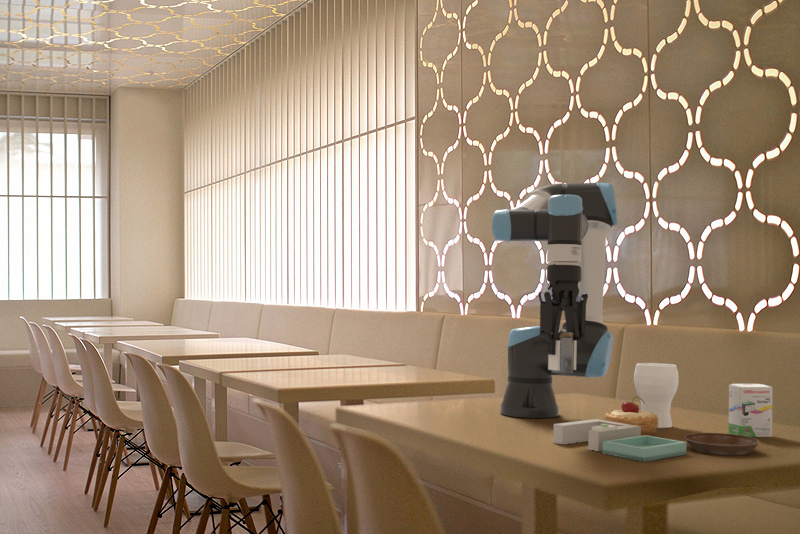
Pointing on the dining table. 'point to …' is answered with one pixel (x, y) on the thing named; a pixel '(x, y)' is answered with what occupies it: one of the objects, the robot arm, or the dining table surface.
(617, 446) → the trough
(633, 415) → the pastry
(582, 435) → the white hook bar
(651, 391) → the cup
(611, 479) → the dining table surface
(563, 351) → the cell
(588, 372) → the robot arm
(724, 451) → the saucer
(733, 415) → the ink box
